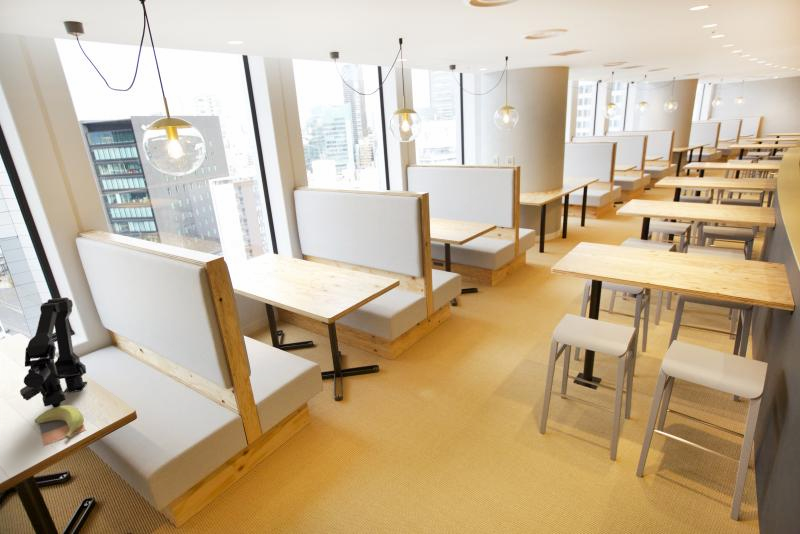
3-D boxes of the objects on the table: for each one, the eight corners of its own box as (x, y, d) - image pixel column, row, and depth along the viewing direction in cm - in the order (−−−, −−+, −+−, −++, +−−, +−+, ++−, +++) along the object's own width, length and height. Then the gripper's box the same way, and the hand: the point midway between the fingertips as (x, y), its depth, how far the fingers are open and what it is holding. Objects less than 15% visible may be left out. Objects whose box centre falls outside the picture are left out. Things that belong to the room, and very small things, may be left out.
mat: (38, 421, 162) (38, 421, 162) (77, 408, 169) (77, 408, 169) (41, 434, 155) (41, 434, 155) (81, 420, 162) (81, 419, 162)
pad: (41, 434, 155) (41, 434, 155) (81, 420, 162) (81, 419, 162) (43, 445, 149) (43, 445, 149) (85, 430, 157) (85, 429, 157)
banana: (72, 393, 166) (82, 422, 153) (79, 402, 169) (90, 432, 156) (30, 415, 159) (37, 447, 146) (38, 424, 162) (46, 457, 149)
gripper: (17, 371, 161) (27, 407, 166) (20, 392, 148) (31, 430, 153) (54, 361, 168) (63, 395, 173) (60, 380, 155) (70, 417, 160)
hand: (56, 409), depth 165 cm, fingers closed
